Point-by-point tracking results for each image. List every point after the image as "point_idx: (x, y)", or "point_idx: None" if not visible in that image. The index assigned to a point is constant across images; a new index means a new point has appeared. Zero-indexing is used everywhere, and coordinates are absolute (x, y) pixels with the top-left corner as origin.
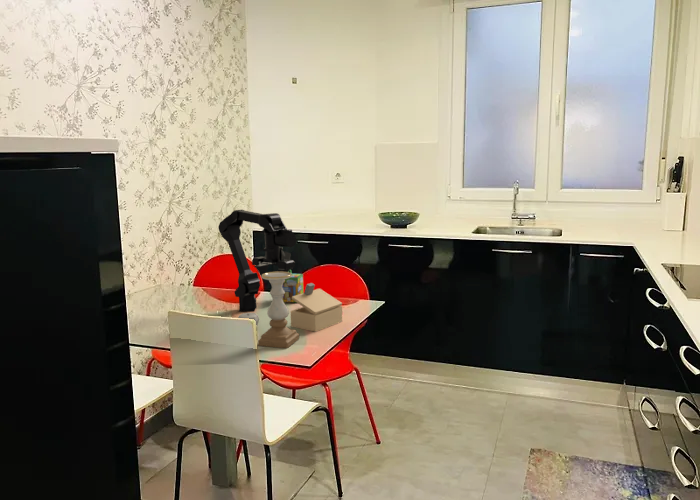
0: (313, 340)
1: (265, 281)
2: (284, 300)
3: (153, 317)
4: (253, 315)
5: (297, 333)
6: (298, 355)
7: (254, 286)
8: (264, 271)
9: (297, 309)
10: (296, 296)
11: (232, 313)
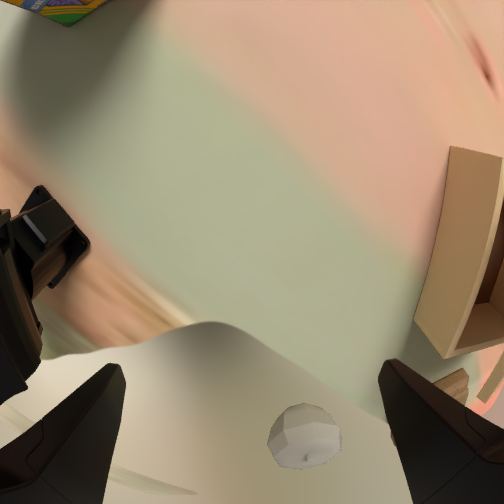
0: (491, 352)
1: (121, 389)
2: (89, 6)
3: (3, 408)
4: (334, 453)
5: (467, 381)
6: (473, 409)
7: (15, 316)
8: (74, 488)
9: (463, 328)
10: (499, 383)
11: (59, 314)
